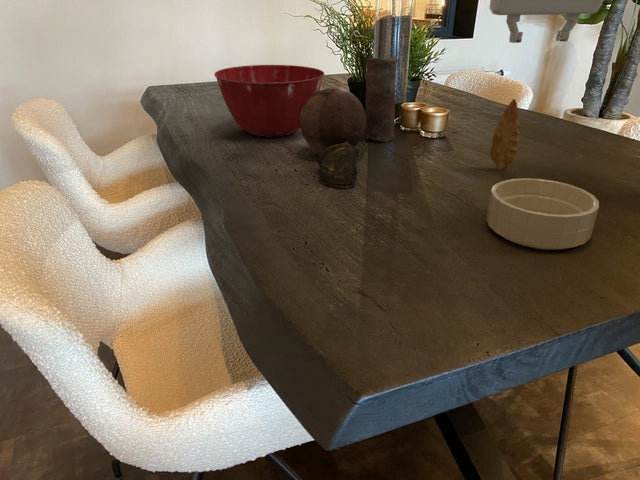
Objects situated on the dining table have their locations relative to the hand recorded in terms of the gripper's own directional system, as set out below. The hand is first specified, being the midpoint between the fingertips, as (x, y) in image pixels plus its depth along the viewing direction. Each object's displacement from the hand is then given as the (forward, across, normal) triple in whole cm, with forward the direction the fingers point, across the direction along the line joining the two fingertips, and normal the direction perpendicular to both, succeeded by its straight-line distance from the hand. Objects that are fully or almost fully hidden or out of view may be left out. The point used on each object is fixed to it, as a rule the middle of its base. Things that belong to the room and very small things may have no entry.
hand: (538, 41), depth 90 cm
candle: (+26, -20, +31) cm, 45 cm away
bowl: (+26, -10, -25) cm, 37 cm away
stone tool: (+26, -1, +3) cm, 26 cm away
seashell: (+26, -36, +7) cm, 45 cm away
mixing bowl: (+26, -46, +44) cm, 69 cm away
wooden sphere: (+26, -34, +21) cm, 48 cm away
